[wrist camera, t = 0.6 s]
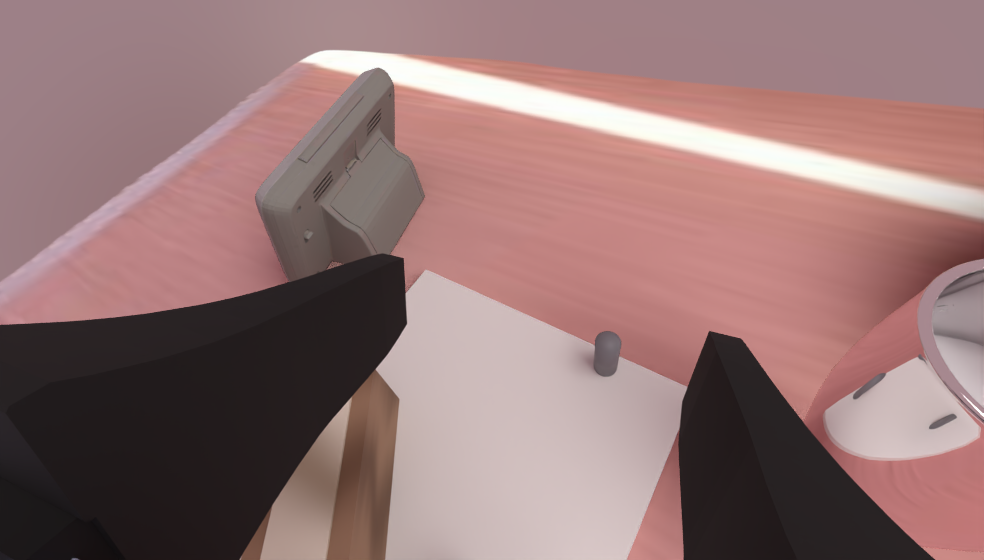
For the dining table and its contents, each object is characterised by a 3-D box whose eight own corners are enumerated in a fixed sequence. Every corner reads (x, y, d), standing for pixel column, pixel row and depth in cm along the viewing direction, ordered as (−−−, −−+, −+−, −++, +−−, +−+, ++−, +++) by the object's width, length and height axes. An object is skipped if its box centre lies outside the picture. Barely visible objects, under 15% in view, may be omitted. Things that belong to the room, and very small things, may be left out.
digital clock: (386, 159, 45) (342, 55, 37) (459, 181, 41) (429, 71, 33) (267, 276, 38) (178, 179, 29) (343, 316, 34) (266, 217, 26)
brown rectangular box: (379, 618, 21) (339, 619, 18) (281, 624, 22) (221, 625, 18) (399, 399, 28) (372, 366, 24) (323, 406, 29) (286, 375, 25)
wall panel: (492, 889, 17) (473, 953, 14) (196, 557, 25) (141, 549, 22) (691, 397, 26) (706, 366, 23) (429, 277, 35) (414, 243, 32)
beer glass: (713, 479, 24) (851, 342, 12) (798, 401, 25) (993, 213, 14) (845, 614, 20) (1247, 610, 8) (936, 511, 22) (1377, 382, 10)
